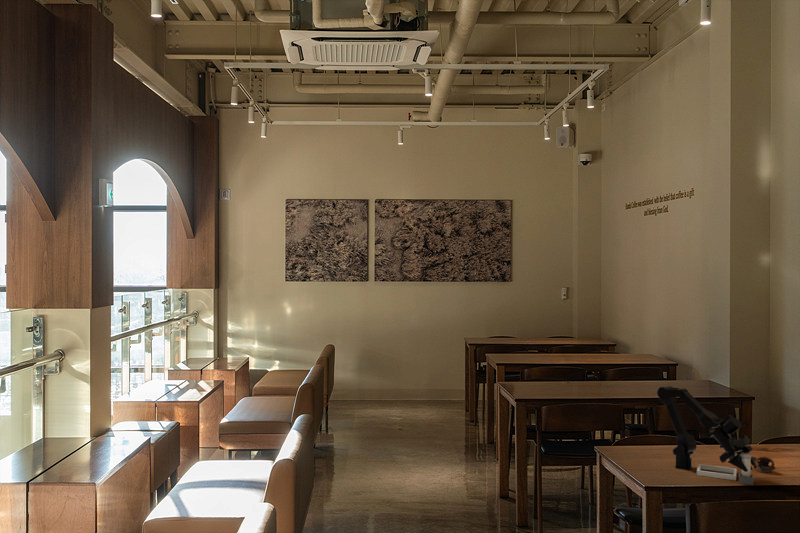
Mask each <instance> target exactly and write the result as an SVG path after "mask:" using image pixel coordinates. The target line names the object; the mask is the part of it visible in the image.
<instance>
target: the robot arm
mask: <svg viewBox="0 0 800 533" xmlns="http://www.w3.org/2000/svg"><path fill="white" fill-rule="evenodd" d="M656 393H657V397H658V398H659V400H660V402H661V403H662V404H663V405H665V407H666V410H667V412H668V414H669V417H670V420H671V424H672V426H673V429H674V431H675V433H676V441H675V442H676V446H675V447H674V448H673V449H672V454H673V455H674V456H675V466H674V467H676V468H675V469H680V468H682V470H688V469H690V470H691V468H692V467H693V463H692V462H693V458H692V457H691V455H693V454H694V452H695V451H696V450H697V444H698V442H697V441H696V440H695V439H696V438H695V436H694V434H690V433H689V432H688V430H687V428H686V426H685V422H684V420H683V418H682V415H681V412H680V410H679V408H678V404H677V398H679V400H681V401H682V402H683V403H684V404H685V405H686V406H687V407H688V408H689V409H690V410H691V411H692V412H693V413H695V415H696V416H697V418H698V422H699V423H700V424H701V425H702V427H703V428H704V429H706V430H709V431H708V437H709V438H712V437H714V439H715V440H716V441H717V442H718V444H719V448H720V449H723V450H724V452H723V453H722V454H721V455H719V460H720V462H721V463H722V464H723V463H726V462H727V463H728V464H731V465H733V466H735V467H736V468H738V469H740V470H741V471H742V470H743V471H745V472H747V471H748V470H747V468H746V467H745V465H744V464H743V462H742V457H741V453H749V454H750V452H751V451H753V450H754V449H753V447H752V446H751V443H750V441H751V439H750V438H749V437H748V436H747V435H742V436H740V438H739V439H736V438H735V437H731V435H733V434H735V433H736V432H737V431H738V430H739V429H741V428H742V427H743V425H742V422H741V421H740V420H739V419H737V417H735V416H733V415H732V414H728V415H727V416H726V418H724V419H722V418H719V417H718V416H717V415H716V414H715V413H713V412H712V411H710V410H708V409H707V408H706V407H704V406H703V405H702V404H701V403H700V402H699V401H698V400H697V399H696V398H695V397H694V396H693V395H692V394H691V393H690V392H689V391H688V389H687V388H685V387H682V388H681V387H674V386H671V385H666V386H660V387H659V388H658V389H657V391H656ZM710 429H712V430H710ZM727 460H728V461H727ZM752 466H753V465H751V471H752V470H753V467H752Z"/></svg>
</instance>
